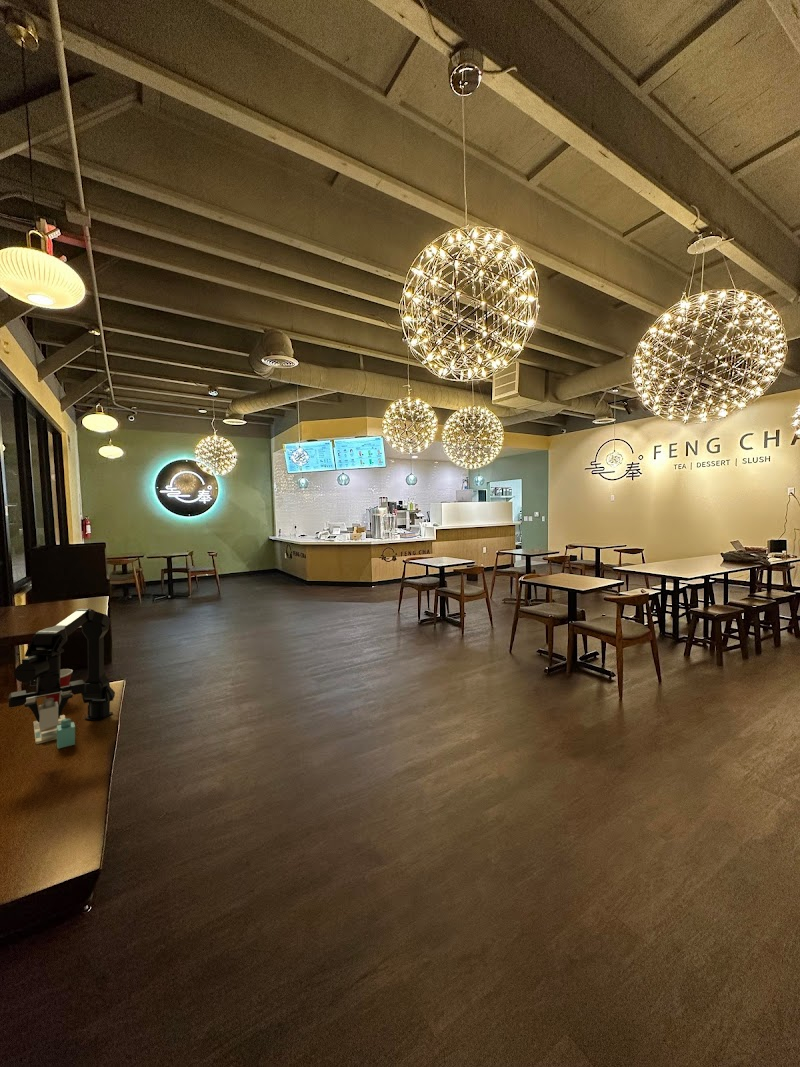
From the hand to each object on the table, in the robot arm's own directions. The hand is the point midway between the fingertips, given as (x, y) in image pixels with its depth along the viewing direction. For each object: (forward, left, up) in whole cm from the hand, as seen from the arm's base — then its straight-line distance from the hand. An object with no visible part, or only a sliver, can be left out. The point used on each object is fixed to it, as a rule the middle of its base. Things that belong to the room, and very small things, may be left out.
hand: (48, 719), depth 137 cm
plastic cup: (+34, -35, -12) cm, 50 cm away
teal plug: (+2, -8, -12) cm, 14 cm away
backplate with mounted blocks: (+15, -15, -12) cm, 24 cm away
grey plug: (0, 0, -2) cm, 2 cm away
